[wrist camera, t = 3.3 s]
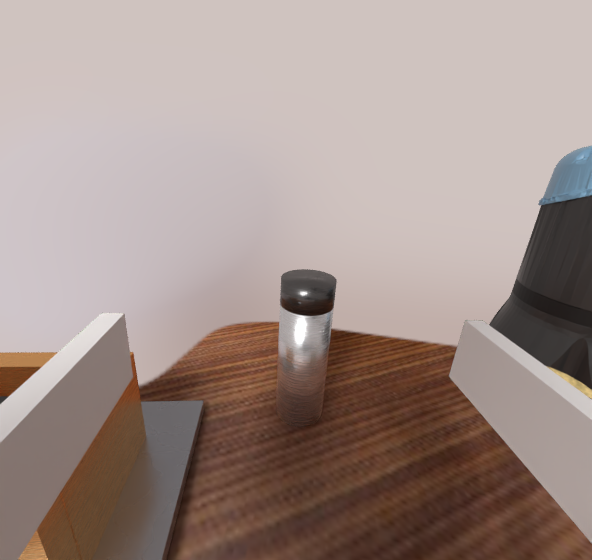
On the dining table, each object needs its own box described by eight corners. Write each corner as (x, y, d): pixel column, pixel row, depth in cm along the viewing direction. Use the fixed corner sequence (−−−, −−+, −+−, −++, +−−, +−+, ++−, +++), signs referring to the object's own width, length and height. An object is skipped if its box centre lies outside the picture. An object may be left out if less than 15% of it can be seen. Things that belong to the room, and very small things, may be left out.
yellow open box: (204, 409, 26) (198, 326, 23) (119, 748, 11) (73, 629, 8) (-5, 414, 24) (-39, 324, 21) (-439, 819, 9) (-741, 702, 6)
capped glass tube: (318, 391, 29) (330, 270, 24) (325, 425, 25) (342, 289, 21) (275, 392, 28) (280, 268, 24) (276, 427, 25) (282, 288, 20)
